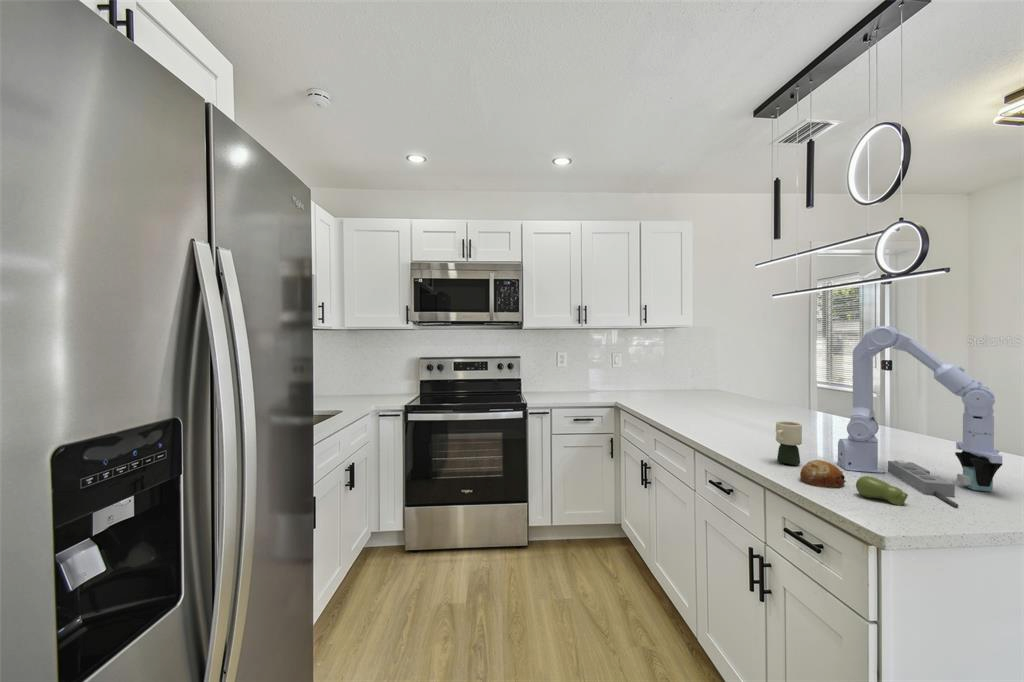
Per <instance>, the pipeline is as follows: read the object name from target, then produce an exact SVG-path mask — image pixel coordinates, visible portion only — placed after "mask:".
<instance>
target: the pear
mask: <svg viewBox="0 0 1024 682" xmlns="http://www.w3.org/2000/svg"><path fill="white" fill-rule="evenodd" d="M855 483H856V484H855V488H856V491H857V492H858V493H859V494H860V495H861V496H863V497H865V498H867V499H884V500H886V501H888V502H889V503H890V504H892V505H895V506H903V504H904V503H905V501H906V500H907V499H908V496H909V494H908V493H906V492H904V491H903V490H902V489H901V488H899V487H896V486H893V485H890V484H889V483H887V482H885V481H883V480H881V479H878V478H877V477H874V476H870V475H869V476H867V475H866V476H865V475H864V476H861V477H859V478H858V479H857V480H856V482H855Z"/></svg>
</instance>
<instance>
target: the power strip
mask: <svg viewBox="0 0 1024 682" xmlns="http://www.w3.org/2000/svg"><path fill="white" fill-rule="evenodd" d="M887 472H888V473H890V474H891V475H893V476H895V478H898V479H899V480H900V481H902V482H904V483H905V484H907V485H908V486H911V487H912V488H913V489H916V490H917V491H919V492H920V493H922V494H923V495H926V496H935V497H937V498H938V499H941V500H942V501H944V502H945V503H947V504H949V505H951V506H952V507H954V508H959V504H958V503H957V502H955V501H954V500H952V499H950V498H955V496H956V495H955V493H956V492H955V491H956V487H955V484H954V483H952V482H951V481H949V480H947V479H945V478H943V477H941V476H940V475H932V474H931V471H930V470H928V469H926V468H924V467H922V466H920V465H918V464H917V463H914V462H909V461H904V460H900V459H898V460H897V459H895V460H887ZM949 497H950V498H949Z"/></svg>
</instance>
